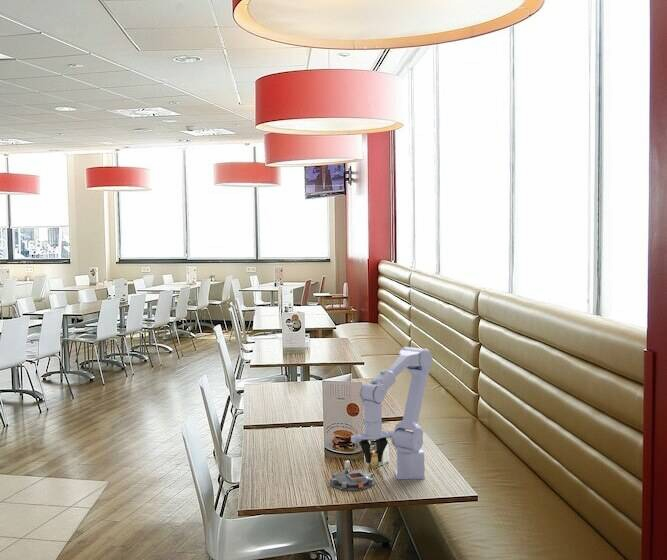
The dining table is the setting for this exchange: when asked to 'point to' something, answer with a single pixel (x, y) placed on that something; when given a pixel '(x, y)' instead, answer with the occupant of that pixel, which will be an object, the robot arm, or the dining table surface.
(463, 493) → the dining table surface
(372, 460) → the roller
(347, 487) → the base flange
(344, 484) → the grey toothed wheel
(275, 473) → the dining table surface
